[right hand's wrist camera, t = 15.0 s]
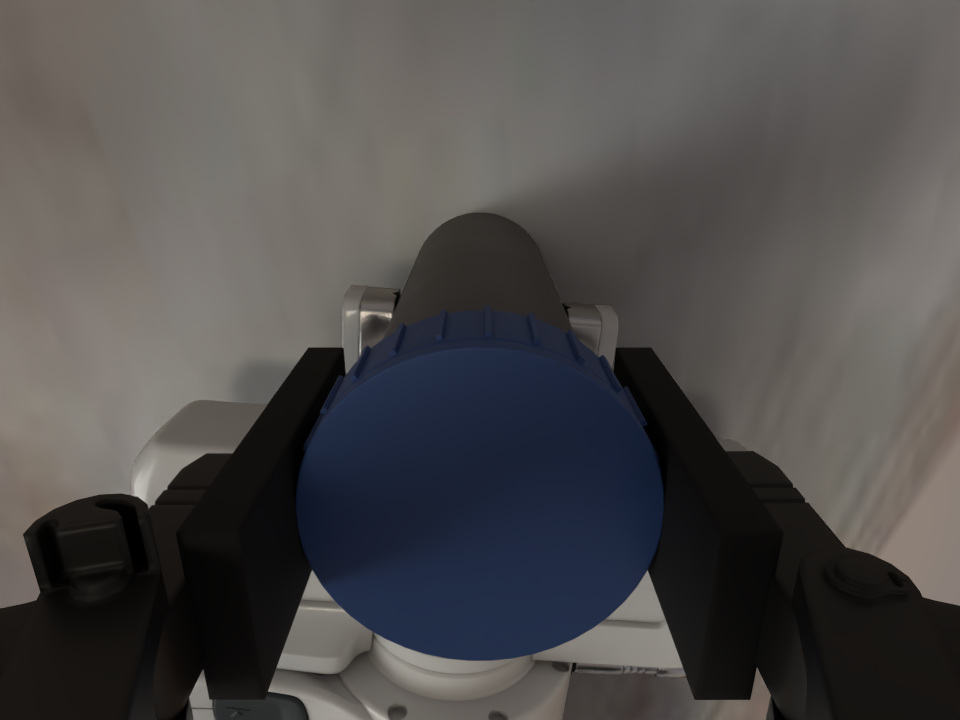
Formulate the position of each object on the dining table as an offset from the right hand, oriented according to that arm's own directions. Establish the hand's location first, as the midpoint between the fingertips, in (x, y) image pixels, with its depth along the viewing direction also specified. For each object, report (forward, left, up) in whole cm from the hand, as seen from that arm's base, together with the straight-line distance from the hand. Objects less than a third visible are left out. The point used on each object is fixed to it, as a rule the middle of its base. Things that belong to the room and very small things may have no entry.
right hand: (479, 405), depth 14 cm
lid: (0, 0, +4) cm, 4 cm away
